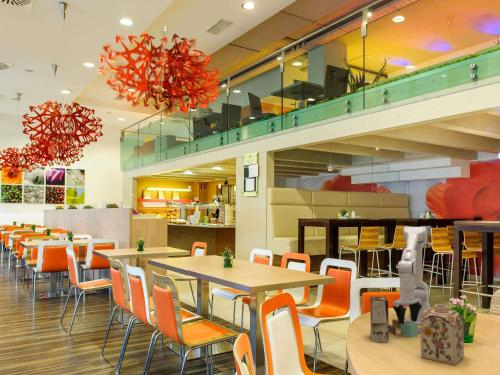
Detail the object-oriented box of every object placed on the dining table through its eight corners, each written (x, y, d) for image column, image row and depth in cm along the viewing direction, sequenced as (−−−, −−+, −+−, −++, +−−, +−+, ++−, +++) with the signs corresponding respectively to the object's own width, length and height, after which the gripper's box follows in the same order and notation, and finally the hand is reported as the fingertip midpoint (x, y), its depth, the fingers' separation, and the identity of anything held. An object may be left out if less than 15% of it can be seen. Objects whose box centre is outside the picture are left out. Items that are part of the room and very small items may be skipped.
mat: (416, 327, 188) (416, 326, 188) (429, 331, 182) (429, 330, 182) (404, 329, 185) (404, 328, 185) (418, 333, 179) (418, 333, 179)
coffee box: (389, 342, 167) (388, 301, 168) (372, 341, 168) (371, 300, 169) (386, 336, 176) (386, 296, 176) (370, 335, 177) (369, 295, 178)
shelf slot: (394, 326, 190) (394, 319, 191) (410, 331, 182) (410, 324, 183) (377, 329, 186) (377, 322, 186) (393, 334, 178) (393, 327, 178)
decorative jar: (430, 349, 159) (429, 300, 160) (464, 356, 152) (463, 305, 153) (420, 358, 150) (419, 306, 151) (455, 366, 143) (454, 311, 143)
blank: (407, 333, 180) (407, 321, 180) (417, 336, 176) (417, 323, 176) (400, 334, 178) (400, 322, 178) (410, 337, 174) (410, 325, 174)
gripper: (411, 286, 185) (411, 318, 185) (387, 289, 178) (387, 322, 178) (425, 289, 179) (425, 321, 179) (401, 292, 172) (401, 326, 171)
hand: (407, 322), depth 178 cm, fingers open, 7 cm apart
